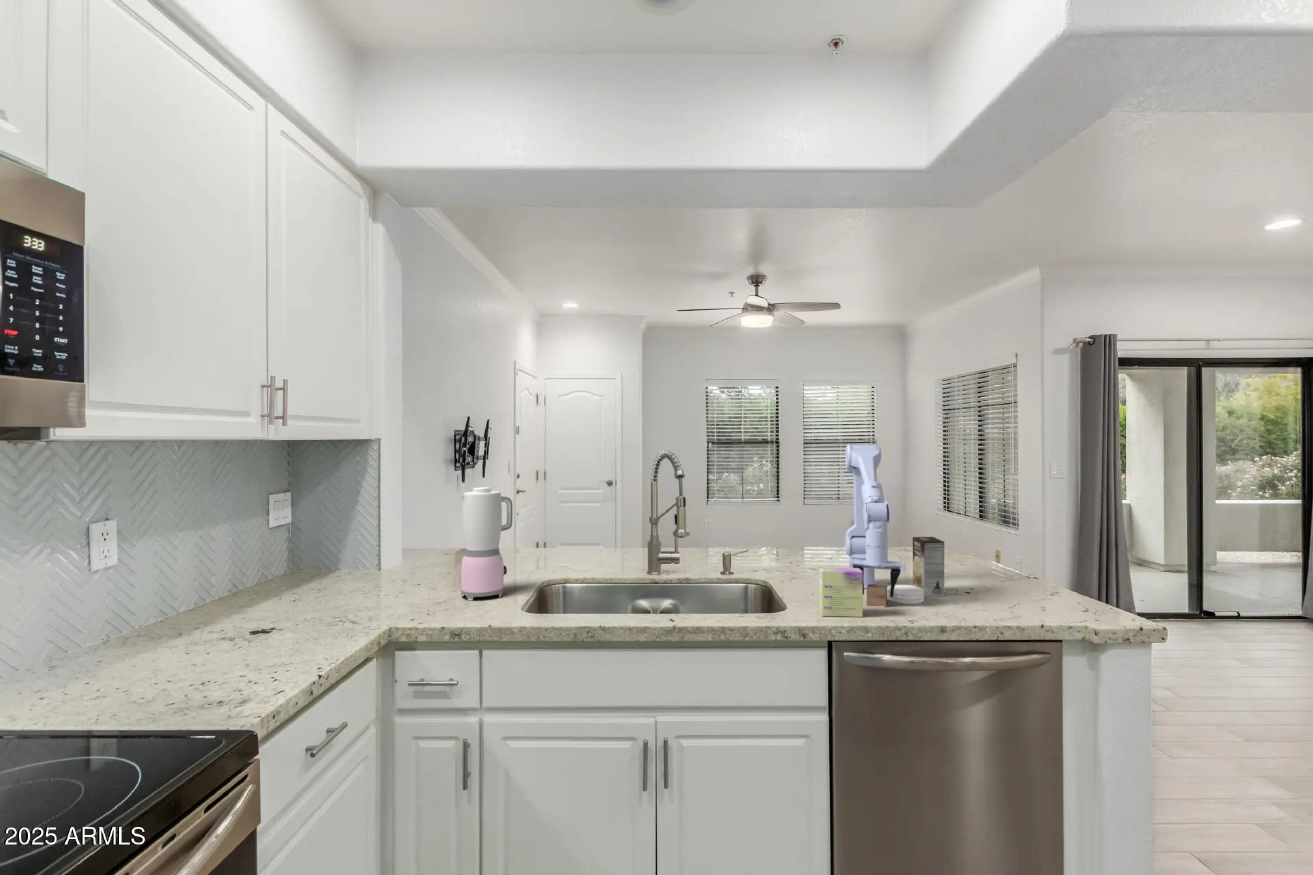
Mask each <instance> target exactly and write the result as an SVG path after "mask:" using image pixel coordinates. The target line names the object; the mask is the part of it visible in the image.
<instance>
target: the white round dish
mask: <svg viewBox="0 0 1313 875" xmlns="http://www.w3.org/2000/svg"><path fill="white" fill-rule="evenodd" d="M890 588H891V585H889V586H888V585H887V601H889V600H890V601H889V602H891V601H892V603H895V602H897V603H896V604H901V603H902V604H903V605H919V603H920V604H922V602H923V603H924V602H925V597H924V590H923V589H922V588H919V587H916V586H913V585H910V584H909V585H908V584H895V587H894V593H893V597H890Z"/></svg>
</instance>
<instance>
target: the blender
mask: <svg viewBox="0 0 1313 875" xmlns="http://www.w3.org/2000/svg"><path fill="white" fill-rule="evenodd" d="M460 496H461V497H462V505H461V506H462V507H461V508H462V509H461V513H462V514H461V515H462V516H461V520H462V522H461V523H462V533H463V540H464V544H465V545H464V546H465V552H464V556H463V557H462V559H461V568H460V569H461V570H460V572H461V573H460V574H461V575H460V577H461V578H460V579H461V580H460V582H461V589H460V593H461V594H460V595H461V596H462V595H465V596H464V597H466V599H467V598H470V599H473V598H474V599H475V598H478V597H479V598H481V597H490V596H495V595H497V596H498V595H499V596H500V595H503V594H504V591H505V590H504V589H505V588H504V576H505V575H507V572H508V568H507V566H506V565H504V559H503V556H502V555H501V552H500V549H499V548H500V541H501V533H502V532H504V531H507V530H510V529H511V528H512V526H513V501H512V499H511V498H510V497H508V496H505V495H504V496H503V495H502V494H501V491H497V490H495V491H493V490H492V488H491V487H485V486H483V487H473V488H472V491H468V492H464V493H462V494H460ZM502 503H505V505H506V523H505V524H502V522H503V521H502V520H503V519H502V518H503V515H502V514H503V512H502V511H503V510H502V509H503V508H502Z"/></svg>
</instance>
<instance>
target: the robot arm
mask: <svg viewBox="0 0 1313 875" xmlns="http://www.w3.org/2000/svg"><path fill="white" fill-rule="evenodd" d="M881 461H882V449H881V446H880V445H879V444H877V443H876V444H850V443H849V444H847V445H846V447H845V468H846V471H848V472H849V473H850V472H851V476H852V479H853V480H852V482H853V514H854V515H853V520H854V523H853V525H852V526H850V527H849V528H848V529H847V530H846V531H845V536H844V551H845V552H844V553H845V555H847V556H848V557H849V560H848V561H849V562H848V565H849V566H848V568H859V569H860V570H861V571H862V572H863V595H864V594H865V589H867V586H868V584H875V585H878V581H877V580H875V569H876V570H890V572H889V573H890V574H889V575H890V577H889V578H890V586H891V588H890V597H893V593H894V587H895V585H897V584H896V583H897V582H898V579H899V577H900V575H901V572H905V570H906V563H905V562H898V561H890V560H888V558H889V557H888V550H889V548H888V523H890V517H891V511H890V504H889V502H888V501H887V499H885V496H884V491H883V487H882V484H881V483H880V482H879V481H878V480H877V472H876V471H877V468H879V466H880V463H881Z"/></svg>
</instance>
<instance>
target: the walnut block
mask: <svg viewBox="0 0 1313 875" xmlns="http://www.w3.org/2000/svg"><path fill="white" fill-rule="evenodd" d="M887 587H888V585H886V584H877V585H875V584H868V586H867V588H866V607H867V606H868V607H876V606H884V607H883V608H887V606H886V605H888V599H887Z"/></svg>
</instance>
